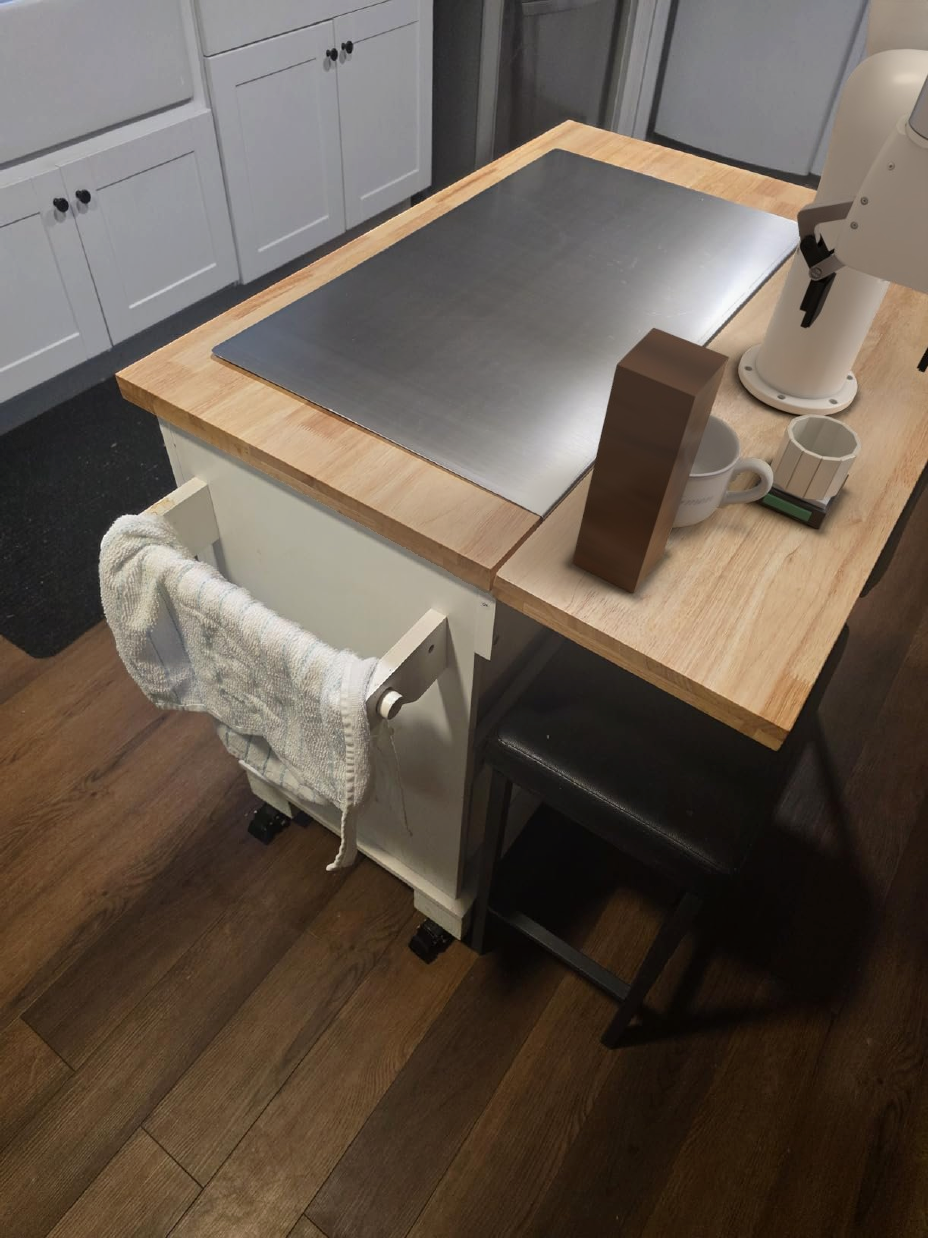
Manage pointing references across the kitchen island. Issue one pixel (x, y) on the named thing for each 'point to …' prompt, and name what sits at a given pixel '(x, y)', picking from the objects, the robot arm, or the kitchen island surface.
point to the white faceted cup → (815, 456)
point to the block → (646, 455)
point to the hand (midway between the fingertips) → (865, 341)
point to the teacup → (719, 475)
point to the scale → (798, 504)
